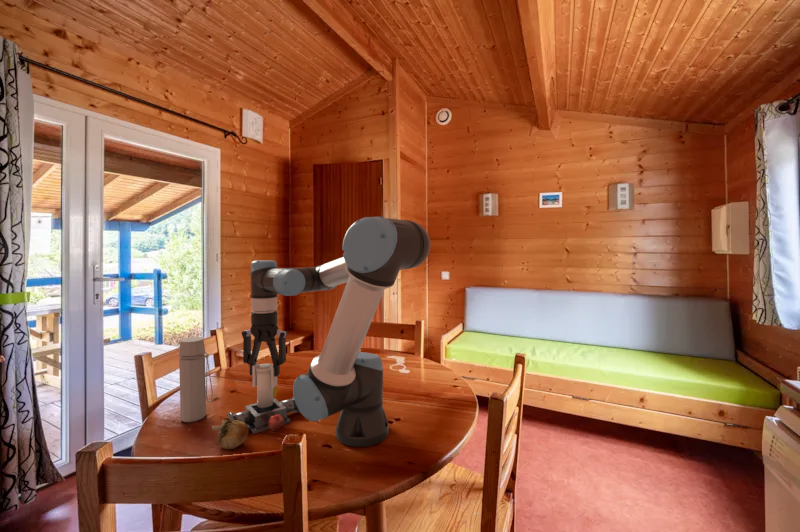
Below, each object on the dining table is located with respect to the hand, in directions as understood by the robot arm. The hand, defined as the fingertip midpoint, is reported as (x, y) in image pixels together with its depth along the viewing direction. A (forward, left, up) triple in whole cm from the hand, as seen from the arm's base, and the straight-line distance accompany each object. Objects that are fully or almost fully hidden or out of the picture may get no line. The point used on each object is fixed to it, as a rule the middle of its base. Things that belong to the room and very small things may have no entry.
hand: (264, 385), depth 112 cm
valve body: (-2, 0, -11) cm, 11 cm away
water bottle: (+16, +16, -11) cm, 25 cm away
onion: (-9, +12, -11) cm, 19 cm away
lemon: (+14, -6, -11) cm, 19 cm away
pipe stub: (0, 0, -6) cm, 6 cm away
